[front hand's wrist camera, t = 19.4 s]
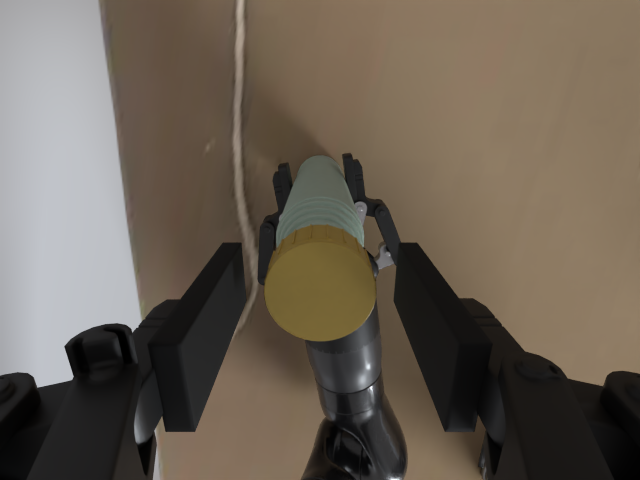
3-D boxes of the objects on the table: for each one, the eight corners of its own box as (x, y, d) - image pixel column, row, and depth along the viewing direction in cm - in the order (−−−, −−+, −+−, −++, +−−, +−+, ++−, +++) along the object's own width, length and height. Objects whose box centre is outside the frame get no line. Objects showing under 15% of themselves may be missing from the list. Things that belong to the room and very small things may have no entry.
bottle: (348, 192, 36) (394, 318, 14) (306, 206, 36) (285, 349, 14) (334, 148, 34) (361, 212, 12) (290, 163, 35) (240, 251, 13)
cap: (260, 299, 15) (251, 327, 13) (284, 210, 14) (278, 226, 12) (351, 323, 16) (355, 353, 14) (384, 239, 14) (394, 259, 12)
